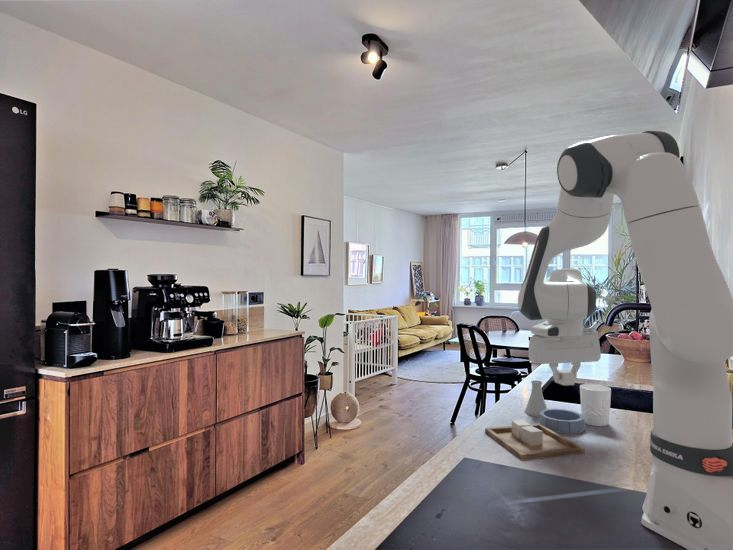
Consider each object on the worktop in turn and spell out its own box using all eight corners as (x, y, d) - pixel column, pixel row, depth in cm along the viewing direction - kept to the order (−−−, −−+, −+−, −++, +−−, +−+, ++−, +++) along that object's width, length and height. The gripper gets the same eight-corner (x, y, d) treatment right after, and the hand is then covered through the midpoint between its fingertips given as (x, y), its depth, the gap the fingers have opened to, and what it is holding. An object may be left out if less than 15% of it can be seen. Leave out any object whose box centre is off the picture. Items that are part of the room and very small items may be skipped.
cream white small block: (542, 444, 112) (542, 430, 112) (531, 445, 111) (531, 432, 111) (531, 438, 116) (531, 425, 116) (521, 440, 115) (521, 427, 115)
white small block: (574, 384, 124) (574, 373, 124) (563, 385, 123) (563, 373, 123) (564, 381, 128) (565, 369, 128) (554, 381, 127) (554, 370, 127)
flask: (552, 419, 133) (551, 384, 133) (525, 417, 134) (525, 383, 134) (547, 411, 140) (547, 379, 140) (522, 410, 141) (522, 378, 141)
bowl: (593, 433, 121) (593, 419, 121) (555, 436, 119) (555, 422, 119) (566, 420, 132) (566, 407, 132) (532, 422, 130) (532, 410, 130)
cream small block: (530, 437, 117) (530, 424, 117) (518, 438, 116) (518, 425, 116) (523, 432, 121) (523, 419, 121) (511, 432, 120) (511, 420, 120)
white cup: (576, 417, 134) (576, 383, 134) (606, 419, 133) (606, 384, 133) (583, 426, 127) (583, 390, 127) (614, 428, 125) (614, 391, 125)
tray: (584, 455, 106) (584, 449, 106) (521, 462, 103) (521, 454, 103) (540, 429, 124) (540, 423, 124) (485, 434, 121) (485, 428, 121)
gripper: (590, 326, 131) (589, 374, 131) (525, 327, 126) (525, 377, 126) (606, 328, 125) (605, 379, 125) (538, 330, 120) (538, 383, 120)
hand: (564, 378), depth 126 cm, fingers closed on white small block, 3 cm apart
